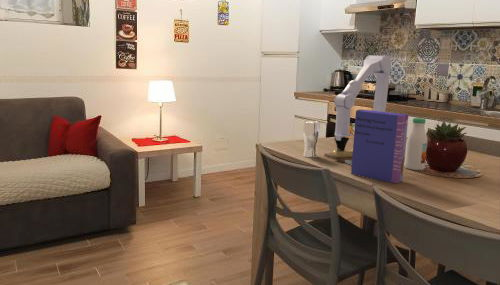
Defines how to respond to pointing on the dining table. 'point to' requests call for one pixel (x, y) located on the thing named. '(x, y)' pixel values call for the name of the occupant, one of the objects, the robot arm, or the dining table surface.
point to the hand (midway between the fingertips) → (340, 154)
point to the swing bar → (343, 153)
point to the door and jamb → (340, 158)
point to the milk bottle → (416, 146)
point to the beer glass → (311, 138)
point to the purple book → (379, 145)
